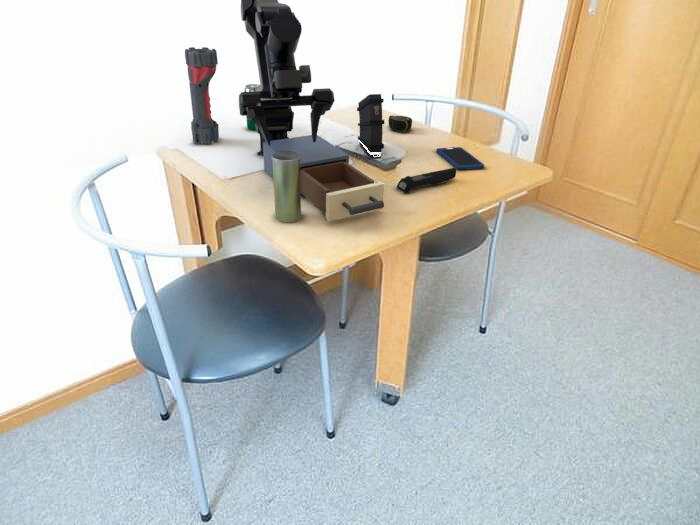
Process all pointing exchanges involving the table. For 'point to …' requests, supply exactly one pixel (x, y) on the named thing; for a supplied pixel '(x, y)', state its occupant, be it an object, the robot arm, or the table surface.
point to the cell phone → (460, 158)
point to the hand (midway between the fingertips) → (292, 143)
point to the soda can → (252, 89)
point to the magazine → (371, 123)
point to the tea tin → (287, 186)
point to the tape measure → (400, 123)
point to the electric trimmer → (425, 179)
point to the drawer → (341, 190)
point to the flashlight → (201, 93)
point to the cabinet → (304, 152)
